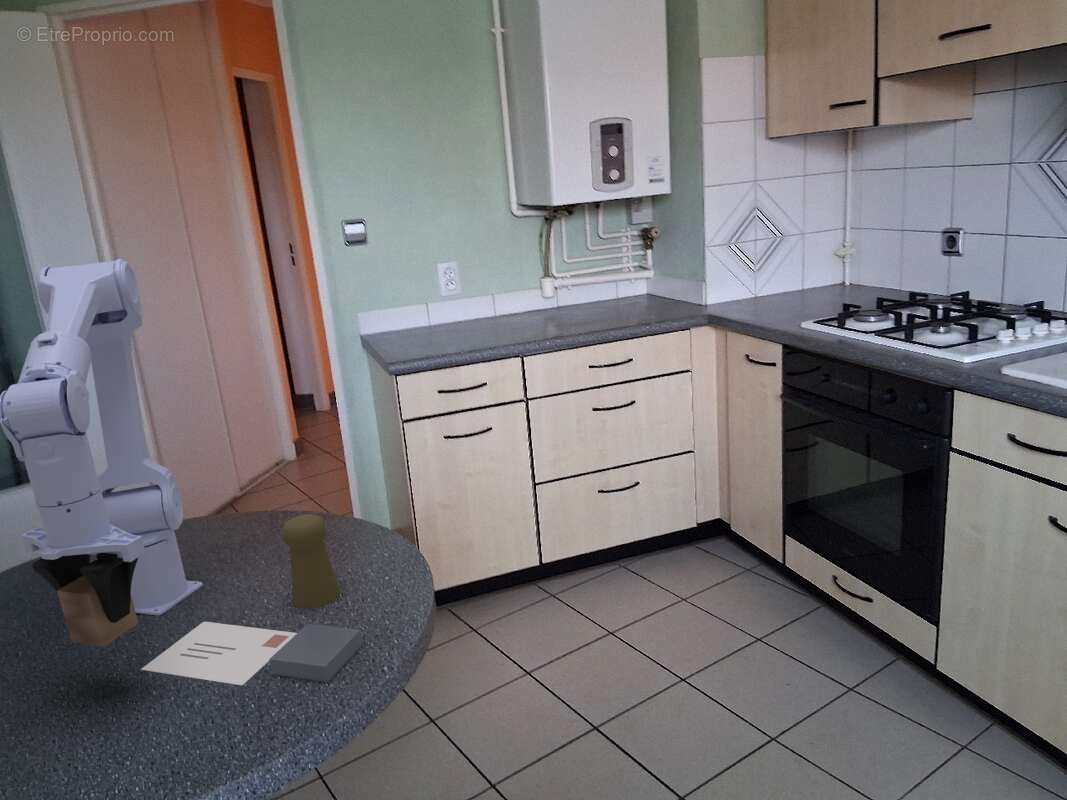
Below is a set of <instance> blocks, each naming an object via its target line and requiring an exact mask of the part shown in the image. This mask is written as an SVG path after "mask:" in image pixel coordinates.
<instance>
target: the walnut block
mask: <svg viewBox="0 0 1067 800" xmlns="http://www.w3.org/2000/svg"><path fill="white" fill-rule="evenodd" d="M56 594H57V597H58V600H59V603H60V606H61V610H62V614H63V616H64V620H65V623H66V628H67V629H68V630H67V631H68V634H69V636H70V641H71V643H75V644H83V645H89V646H95V647H101V648H104V647H105V648H106V646H108V645H109V644H111V643H112V642H113V641H115V640H116V639H117V638H119V637H120V636H122V635H124V634H125V633H126V632H128V631H130V630H131V629H132V628H133V627H135V626H136V625H137V624H139V620H138V617H137V613H136V612H135V608H134V605H133V601H132V597H131V596H130V614H128V615H127V616H125V617H124V618H122V619H121V620H119V621H117V622H116V623H112V622H110V621H109V620H108V618H107V616H106V615H105V612H104V610H103V607H102V604H101V602H100V599H99V597H98V595H97V593H96V591H95V589H94V588H93V586H92V585H91V583H90V582H89V581H88V579H87V578H86V577H85V576H84V575H83V576H82V577H80V578H78V579H76V580H75V581H73V582H71V583H69V584H68V585H66V586H64V587H63V588H61V589H59V590H57V591H56Z"/></svg>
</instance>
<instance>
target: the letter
mask: <svg viewBox="0 0 1067 800" xmlns="http://www.w3.org/2000/svg"><path fill="white" fill-rule="evenodd" d="M297 633H298V632H291V631H283V630H275V629H268V628H261V627H259V628H258V627H252V626H251V627H250V626H245V625H244V626H243V625H235V624H227V623H219V622H211V621H203V622H201V623H200V624H198V626H196V627H195V628H193V629H192V630H191V631H189V632H188V633H187V634H185V635H184V636H183V637H181V638H180V639H179V640H177V641H176V642H175V643H173V644H172V645H171V646H170V647H168V648H166V649H165V651H163V652H161V653H160V654H159V655H158V656H156V657H155V658H154V659H152V660H151V661H150V662H148V663H147V664H146V665H144V666H143V667H142V668H140V671H146V672H153V673H159V674H167V675H173V676H178V677H184V678H190V679H191V678H192V679H199V680H205V681H211V682H216V683H217V682H218V683H224V684H230V685H237V686H244V684H246V683H247V682H248V681H249V680H250V679H251V678H252V677H254V676H255V675H256V673H258V672H259V671H260V670H261V669H262V668H263V667H264V666H265V665H267V664H268V663H270V660H269V659H270V658H271V657H272V656H273V655H274V654H275V653H277V652H278V651H279V650H280V649H281V648H282V647H283V646H284V645H285V644H286V643H287V642H288V641H289V640H291V639H292V638H293V637H294V636H295V635H296V634H297Z"/></svg>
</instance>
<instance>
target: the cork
mask: <svg viewBox="0 0 1067 800" xmlns="http://www.w3.org/2000/svg"><path fill="white" fill-rule="evenodd" d="M326 532H327V530H326V524H325V522H324V519H323V518H321V517H320V516H319V515H316V514H308V513H307V514H301V515H298V516H295V517H294V516H293V517H292V518H290V519H289V520H287V521H286V522H285V523H284V525H283V527H282V539H283V541H284V544H286V546H287V547H288V548H289V557H290V558H289V559H290V575H291V576H290V577H291V594H292V605H293V606H294V607H296V608H298V609H302V610H312V609H317V608H321V607H322V608H323V607H325V606H328V605H330V604H331V603H333V602H334V601H336V600H337V599H338V598H339V597H340V596H341V588H340V585H339V582H338V579H337V576H336V574H335V570H334V567H333V565H332V562H331V559H330V556H329V553H328V550H327V547H326V545H325V544H326V543H325V541H324V539H325V537H326V534H327V533H326Z"/></svg>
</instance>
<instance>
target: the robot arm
mask: <svg viewBox="0 0 1067 800" xmlns="http://www.w3.org/2000/svg"><path fill="white" fill-rule="evenodd" d="M36 289H37V295H38V299H39V301H40V302H39V303H40V304H41V306H42V308H43V310H44V311H45V313H46V314H47V315H48V316H47V322H46V330H45V332H42V333H40V334H38V335H37V336H35V337H34V339H33V340H32V341H31V342H30V346H29V348H28V351H27V354H26V358H25V360H24V364H23V366H22V369H21V373H20V375H19V379H18V381H17V383H13V384H11V385H10V386H9V387H8V388H7V390H4V391H2V392H1V394H0V426H1V429H2V430H3V433H4V435H5V436H6V438H7V439H8V440H9V442H10V443H11V445H12V447H13V450H14V453H15V456H16V458H17V459H18V461H19V462H24V465H25V469H26V472H27V475H28V478H29V481H30V485H31V489H32V492H33V497H34V499H35V503H36V506H37V510H38V514H39V518H40V520H41V524H42V527H41V526H40V527H36V528H33V529H31V530H29V531H27V532H25V533H23V534H21V538H22V541H23V545H24V549H25V552H28V553H35V552H37V551H38V550H41V551H40V556H41V558H39V559H37V560H36V561H34V562H33V563H32V566H31V567H32V570H33V571H34V572H36V573H38V575H40V576H41V577H42V578H43V579H45V581H46V582H48V583H49V585H50V586H51V587H52V588H53V589H54V590H55V592H57V590H59V589H61V588H63V587H64V586H66V585H68V584H69V583H71V582H73V581H75V580H76V579H78V578H80V577H82V576H83V575H84V576H85V577H86V578H87V579H88V581H89V582H90V583H91V585H92V586H93V588H94V589H95V591H96V593H97V595H98V597H99V599H100V602H101V604H102V607H103V610H104V612H105V615H106V616H107V618H108V620H109V621H110V622H112V623H116V622H117V621H119V620H121V619H122V618H124V617H125V616H127V615H128V614H130V596H131V597H132V601H133V605H134V608H135V612H136V614H141V615H142V614H144V615H149V616H150V615H151V616H152V615H153V616H160V615H163V614H164V613H166V612H167V611H169V610H170V609H172V608H173V607H174V606H176V605H177V604H179V603H181V602H182V601H183V600H185V599H186V598H187V597H188V596H190V595H191V594H193V593H194V592H196V591H197V590H199V589H200V588H201V587H203V585H204V584H203V582H202V581H196V580H195V581H194V580H187V578H186V574H185V570H184V566H183V562H182V561H183V560H182V558H181V554H180V548H179V545H178V539H177V537H176V532H175V530H176V531H177V530H178V529H180V526H181V525H182V523H183V521H184V508H183V507H184V506H183V502H182V501H183V500H182V496H181V492H180V490H179V487H178V485H177V480H176V476H175V474H174V472H173V471H171V469H169V468H167V467H166V466H163V465H161V464H159V463H157V462H155V461H152V460H151V459H150V458H149V453H148V447H147V440H146V436H145V435H146V434H145V429H144V422H143V417H142V410H141V403H140V397H139V390H138V384H137V378H136V371H135V365H134V360H133V353H132V352H133V351H132V333H133V332H135V331H137V329H139V328H141V327H142V326H143V319H142V318H143V309H142V302H141V296H140V292H139V284H138V281H137V279H136V275H135V271H134V270H133V268H132V266H131V264H129V262H127V261H126V260H125V259H123V258H117V259H116V260H112V261H103V262H92V263H84V264H78V265H77V264H75V265H68V266H67V265H66V266H58V267H52V266H51V267H50V266H44V267H42V268H41V270H40V272H39V273H38V275H37V277H36ZM90 366H91V368H92V376H93V382H94V388H95V393H96V400H97V407H98V413H99V420H100V425H101V431H102V432H101V433H102V437H103V438H102V439H103V444H104V449H105V450H104V451H105V456H106V457H105V458H106V463H107V467H106V469H105V470H103V472H102V473H100V474H99V475H98V473H97V470H96V465H95V462H94V459H93V458H94V457H93V455H92V450H91V447H90V444H89V439H88V435H87V431H88V428H89V426H90V419H91V416H90V415H91V412H90V404H89V403H90V402H89V399H90V395H89V394H90V393H89V390H88V389H87V386H86V383H87V379H88V375H89V371H90ZM144 483H153V485H152V484H151V485H147V486H142V487H135V488H130V489H123V490H117V491H114V490H115V489H117V488H120V487H126V486H132V485H133V486H134V485H139V484H144ZM91 555H93V556H96V559H94V560H93V561H91V559H90V558H91Z"/></svg>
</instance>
